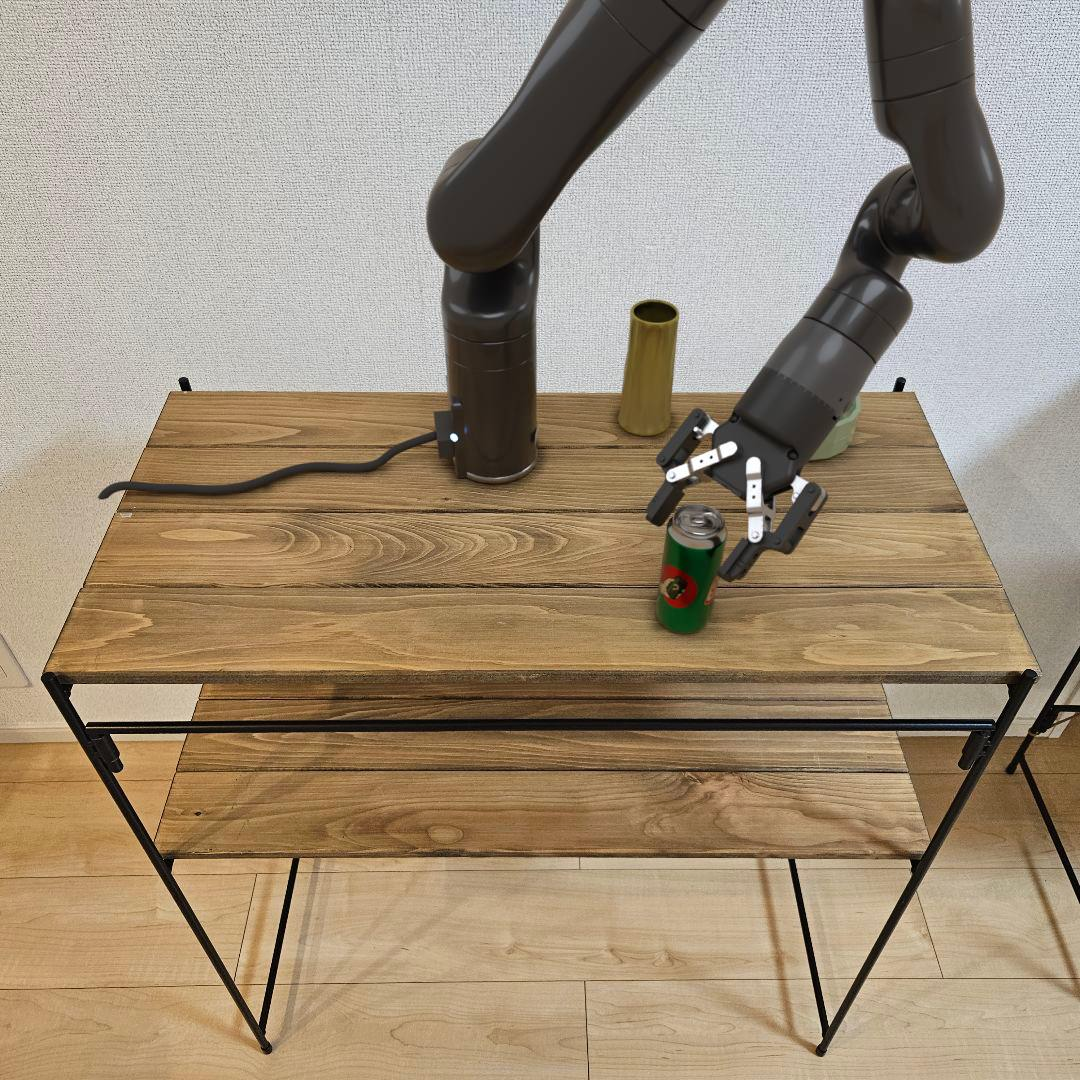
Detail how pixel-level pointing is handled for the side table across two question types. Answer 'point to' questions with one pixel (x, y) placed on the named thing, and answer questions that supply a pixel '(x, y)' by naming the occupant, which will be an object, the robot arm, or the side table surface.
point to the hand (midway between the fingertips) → (687, 550)
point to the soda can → (690, 567)
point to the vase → (649, 368)
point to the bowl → (840, 433)
